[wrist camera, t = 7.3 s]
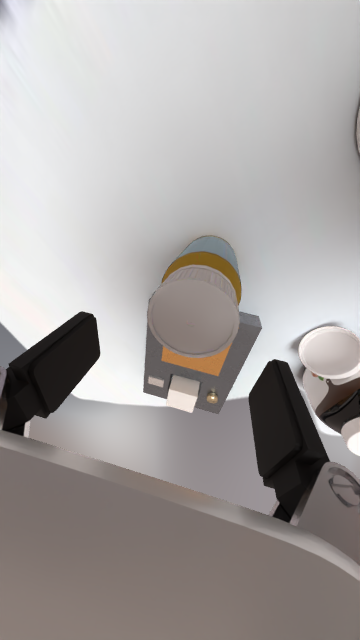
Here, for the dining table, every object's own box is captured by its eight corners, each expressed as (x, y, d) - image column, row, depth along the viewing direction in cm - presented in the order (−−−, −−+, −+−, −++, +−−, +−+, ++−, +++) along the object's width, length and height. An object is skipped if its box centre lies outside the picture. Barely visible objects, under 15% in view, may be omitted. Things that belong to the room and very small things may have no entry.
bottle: (174, 271, 26) (127, 332, 14) (200, 223, 22) (166, 246, 10) (215, 296, 27) (207, 376, 14) (247, 253, 23) (273, 312, 10)
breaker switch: (200, 374, 35) (197, 397, 31) (195, 390, 38) (191, 412, 33) (175, 367, 35) (169, 389, 31) (172, 383, 38) (165, 405, 34)
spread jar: (332, 390, 31) (379, 473, 22) (270, 367, 31) (289, 439, 22) (399, 341, 24) (510, 429, 15) (319, 312, 25) (379, 380, 15)
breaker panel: (258, 316, 27) (262, 331, 24) (218, 400, 39) (218, 418, 36) (155, 292, 28) (146, 302, 25) (148, 380, 41) (141, 395, 37)
